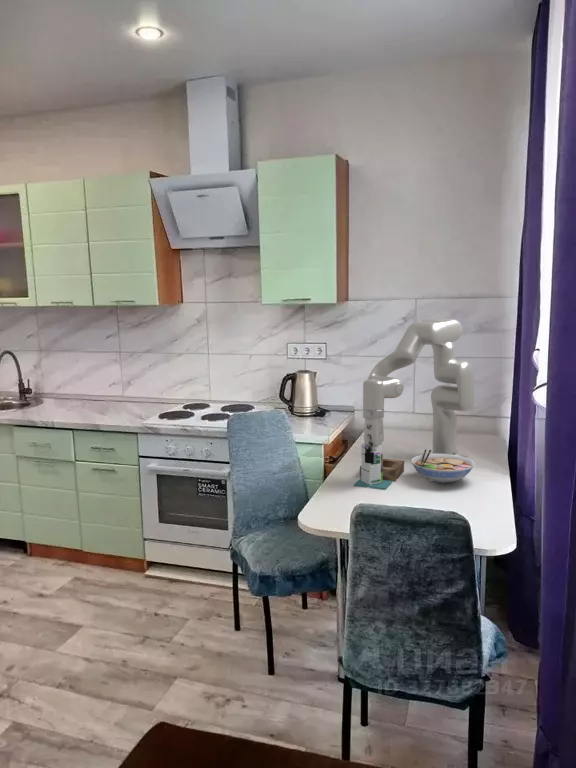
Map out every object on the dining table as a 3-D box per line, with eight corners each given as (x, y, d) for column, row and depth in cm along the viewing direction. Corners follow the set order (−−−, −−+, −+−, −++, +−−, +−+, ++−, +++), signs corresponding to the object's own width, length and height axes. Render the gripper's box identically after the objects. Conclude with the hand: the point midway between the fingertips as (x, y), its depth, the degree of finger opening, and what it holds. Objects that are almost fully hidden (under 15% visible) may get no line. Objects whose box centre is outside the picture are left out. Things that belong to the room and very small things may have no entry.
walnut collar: (403, 471, 235) (404, 460, 234) (395, 481, 223) (395, 470, 222) (370, 468, 240) (370, 457, 240) (360, 477, 228) (360, 466, 228)
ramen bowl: (471, 494, 208) (472, 471, 206) (405, 487, 216) (405, 465, 214) (476, 473, 231) (476, 453, 230) (415, 468, 239) (416, 448, 238)
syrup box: (370, 485, 217) (370, 446, 214) (360, 481, 222) (361, 443, 220) (382, 483, 219) (383, 444, 217) (373, 478, 225) (373, 441, 222)
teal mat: (392, 482, 222) (392, 480, 222) (385, 489, 214) (385, 488, 214) (361, 478, 227) (361, 477, 227) (353, 485, 219) (353, 484, 219)
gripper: (376, 418, 207) (376, 466, 210) (389, 409, 223) (389, 454, 225) (355, 417, 210) (356, 464, 213) (370, 408, 226) (370, 452, 228)
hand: (373, 459), depth 219 cm, fingers open, 9 cm apart
